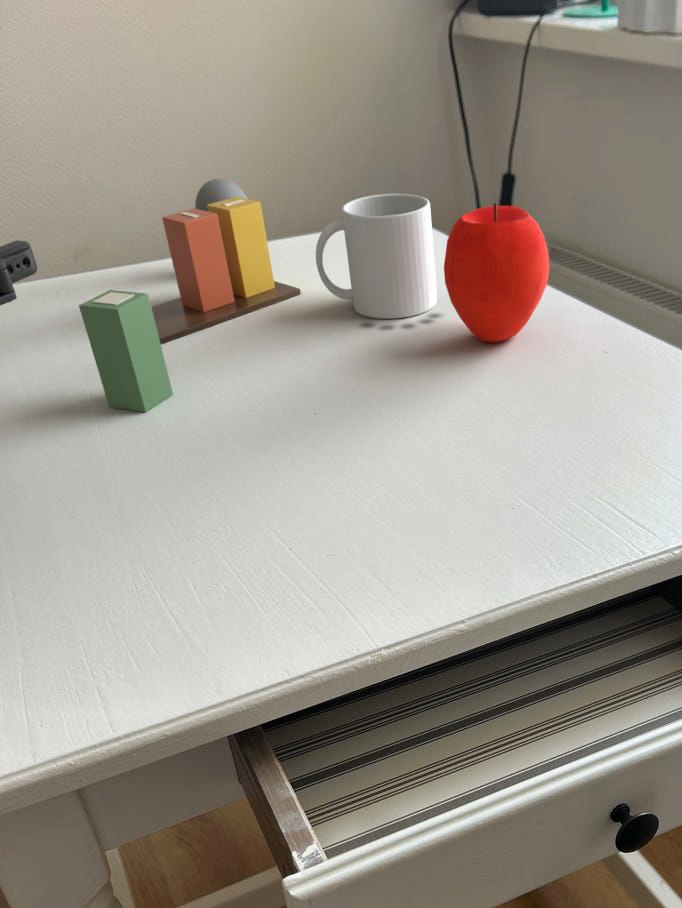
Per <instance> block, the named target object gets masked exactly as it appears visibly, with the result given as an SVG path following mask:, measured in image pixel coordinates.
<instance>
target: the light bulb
mask: <svg viewBox="0 0 682 908" xmlns="http://www.w3.org/2000/svg"><path fill="white" fill-rule="evenodd" d="M234 197H241V198H246V199H248V197H247V195H246V193H245V192H244V191H243V190H242V189H241V187H240V186H239V185H238V184H236V183H235V182H233V181H232V180H229V179H226V178H214V179H210V180H209V181H206V182H204V183H203V185H202V186H201V187H200V188H199V190H198V193H197V194H196V197H195V204H194V205H195V207H194V208H195V209H199V210H203V211H207V212H208V209H207V205H208V204H212V203H216V202H219V201H223V200H227V199H230V198H234Z"/></svg>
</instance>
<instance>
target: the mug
mask: <svg viewBox="0 0 682 908" xmlns="http://www.w3.org/2000/svg"><path fill="white" fill-rule="evenodd" d="M431 212H432V211H431V203H430V200H429V199H427V198H426V197H423V196H420V195H417V194H409V193H383V194H375V195H374V194H373V195H368V196H363V197H359V198H356V199H353V200H351V201H348V202H346V203H345V204H343V206H342V207H341V216H342V219H338V220H334V221H332V222H331V223H329V224H328V225H327V226H325V228H324V229H323V230H322V232H321V233H320V235H319V238H318V239H317V243H316V246H315V247H316V248H315V263H316V264H315V265H316V268H317V272H318V275H319V278H320V280H321V281H322V283H323V285H324V286H325V288H326V290H328V291H329V292H330V293H331V294H333V295H334V296H335V297H337V298H339V299H342V300H352V304H353V309H354V310H355V311H356V313H358V314H359V315H361V316H364V317H368V318H373V319H383V320H385V319H386V320H388V319H389V320H390V319H391V320H392V319H404V318H410V317H413V316H414V317H415V316H418V315H420V314H424V313H426V312H428V311H430V310H432V309H433V308H434V307H435V306H436V304H437V302H438V294H437V293H438V292H437V282H436V281H437V279H436V266H435V251H434V241H433V240H434V239H433V226H432V225H433V224H432V213H431ZM341 231H344V239H345V240H344V241H345V248H346V255H347V263H348V272H349V278H350V286H351V288H342V287H339V286H338V285H335V284H334V283H333V282H332V281H331V280H330V278H329V276H328V275H327V274H326V271H325V268H324V262H323V256H324V255H323V254H324V250H325V246H326V244H327V243H328V240H329V239H330V238H331V237H332V236H333V235H334V234H336V233H338V232H341Z"/></svg>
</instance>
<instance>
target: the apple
mask: <svg viewBox="0 0 682 908" xmlns="http://www.w3.org/2000/svg"><path fill="white" fill-rule="evenodd" d="M547 246H548V245H547V242H546V239H545V235H544V233H543V231H542V230H541V228H540V225H539V224H538V222H537V221H536V220H535V219H534V218H533V217H532V216H531V215H530V214H529V213H528V212H527V211H526V210H524V209H523V208H521V207H518V206H512V205H497V203H496V202H495V203H493V205H491V206H484V207H479V208H476V209H474V210H472V211H469V212H467V213H464V214H463V215H462V216H461V217H459V218H458V219H457V220H456V221H455V222H454V224H453V226H452V228H451V230H450V233H449V235H448V238H447V240H446V248H445V255H444V263H443V274H444V284H445V286H446V290H447V293H448V296H449V300H450V303H451V304H452V306H453V308H454V311H456V313H457V316H458V317H459V319H460V320H461V321H462V322H463V324H464V325H465V327H466V328H467V329H468V330H469V331H470V333H471V334H472V336H474V337H475V338H476V339H478V340H480V341H482V342H484V343H498V342H502V341H506V340H509V339H511V338H513V337H515V336H516V335H517V334H519V333H520V331H521V330H523V328H524V327H525V326H526V325H527V323H528V322H529V321H530V319H531V318H532V316H533V313H534V312H535V310H536V308H537V307H538V305H539V304H540V302H541V300H542V297H543V294H544V292H545V290H546V287H547V285H548V281H549V274H550V273H549V272H550V256H549V251H548V247H547Z"/></svg>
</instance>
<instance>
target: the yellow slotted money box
mask: <svg viewBox="0 0 682 908" xmlns="http://www.w3.org/2000/svg"><path fill="white" fill-rule="evenodd" d="M207 209H208V212H211V213H215V214H217V216H218V222H219V227H220V232H221V237H222V242H223V247H224V252H225V257H226V262H227V267H228V272H229V277H230V282H231V287H232V292H233V294H235V295H238V296H241V297H245V298H248V297H250V296H253V295H256V294H259V293H262V292H265V291H268V290H271V289H273V288H275V285H274V281H275V280H274V274H273V273H274V272H273V268H272V262H271V256H270V250H269V244H268V238H267V233H266V227H265V221H264V215H263V211H262V205H261V201H259V200H254V199H249V198H247V199H246V198H241V197H234V198H230V199H227V200H223V201H219V202H216V203H212V204H208V205H207Z"/></svg>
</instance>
